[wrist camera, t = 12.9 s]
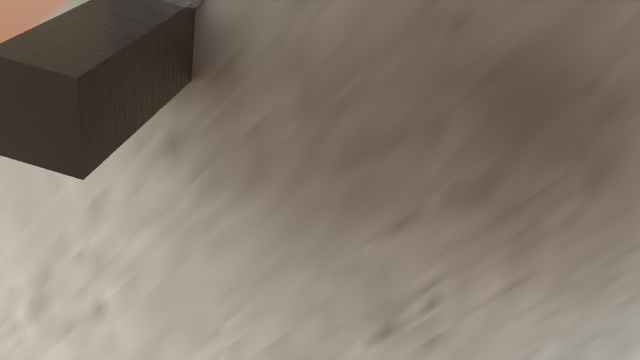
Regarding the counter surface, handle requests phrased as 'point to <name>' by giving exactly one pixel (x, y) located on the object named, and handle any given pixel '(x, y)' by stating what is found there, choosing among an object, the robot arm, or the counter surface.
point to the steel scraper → (91, 80)
